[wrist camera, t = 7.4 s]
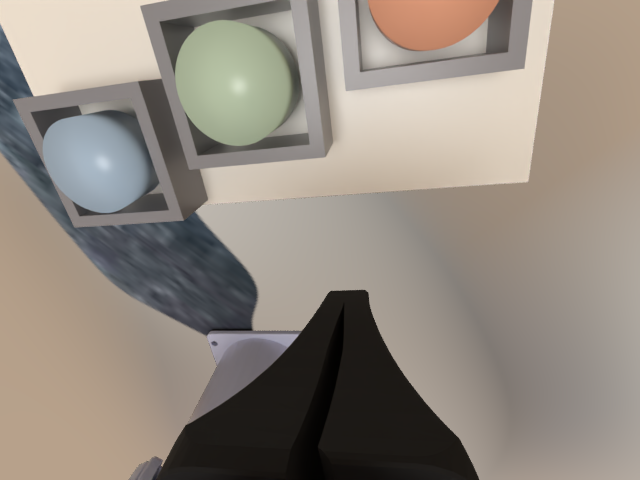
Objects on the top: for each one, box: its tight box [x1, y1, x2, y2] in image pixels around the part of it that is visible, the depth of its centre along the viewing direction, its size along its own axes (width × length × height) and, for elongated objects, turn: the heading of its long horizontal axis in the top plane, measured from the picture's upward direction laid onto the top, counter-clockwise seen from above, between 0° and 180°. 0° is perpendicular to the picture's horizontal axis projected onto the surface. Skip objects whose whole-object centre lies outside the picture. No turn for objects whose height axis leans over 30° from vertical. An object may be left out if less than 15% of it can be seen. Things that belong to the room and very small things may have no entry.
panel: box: [0, 0, 554, 227], centre depth 16 cm, size 12×25×5 cm, turn 97°
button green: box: [175, 20, 299, 146], centre depth 14 cm, size 4×4×2 cm
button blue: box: [43, 110, 160, 213], centre depth 17 cm, size 4×4×2 cm
